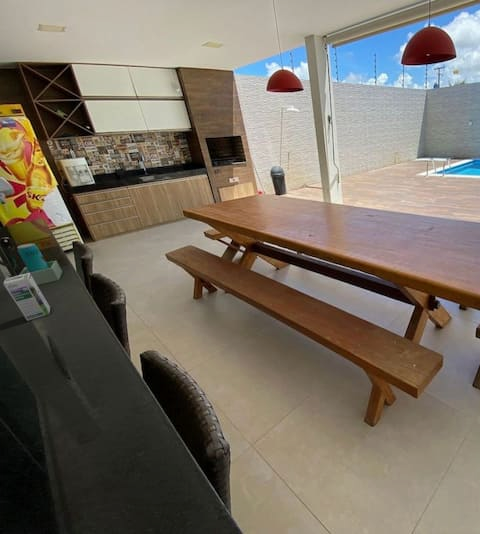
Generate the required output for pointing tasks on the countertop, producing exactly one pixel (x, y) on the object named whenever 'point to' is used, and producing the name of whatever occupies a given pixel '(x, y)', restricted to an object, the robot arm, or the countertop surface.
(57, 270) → the bin
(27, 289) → the syrup box
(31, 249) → the teal tall block
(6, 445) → the countertop surface
